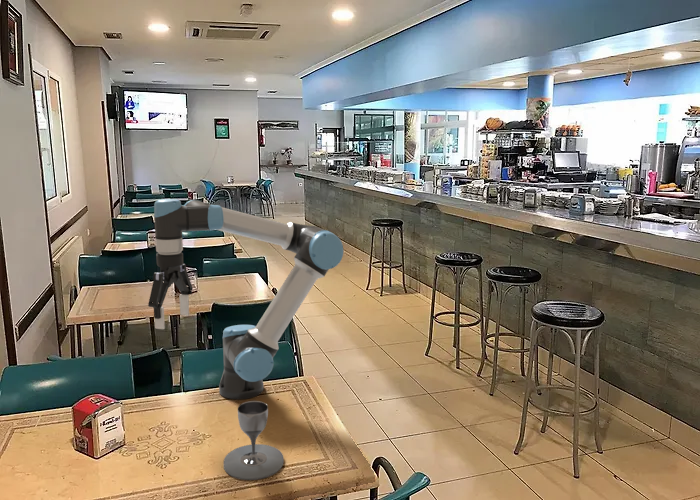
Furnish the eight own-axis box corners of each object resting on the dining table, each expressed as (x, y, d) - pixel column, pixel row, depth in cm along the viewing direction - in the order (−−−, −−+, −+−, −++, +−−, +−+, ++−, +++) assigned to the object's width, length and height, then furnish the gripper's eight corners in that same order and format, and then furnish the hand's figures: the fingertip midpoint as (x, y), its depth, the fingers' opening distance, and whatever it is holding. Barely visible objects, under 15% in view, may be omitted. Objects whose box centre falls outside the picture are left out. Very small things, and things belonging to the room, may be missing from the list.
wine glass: (262, 468, 152) (261, 416, 149) (234, 465, 154) (232, 412, 151) (272, 453, 160) (272, 402, 157) (245, 449, 161) (244, 399, 158)
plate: (239, 443, 166) (239, 440, 166) (292, 452, 162) (292, 449, 162) (212, 474, 151) (212, 470, 151) (269, 484, 147) (269, 481, 147)
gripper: (180, 244, 183) (183, 308, 187) (132, 259, 159) (136, 333, 163) (202, 245, 181) (204, 310, 185) (156, 261, 157) (160, 336, 161)
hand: (172, 321), depth 174 cm, fingers open, 13 cm apart
